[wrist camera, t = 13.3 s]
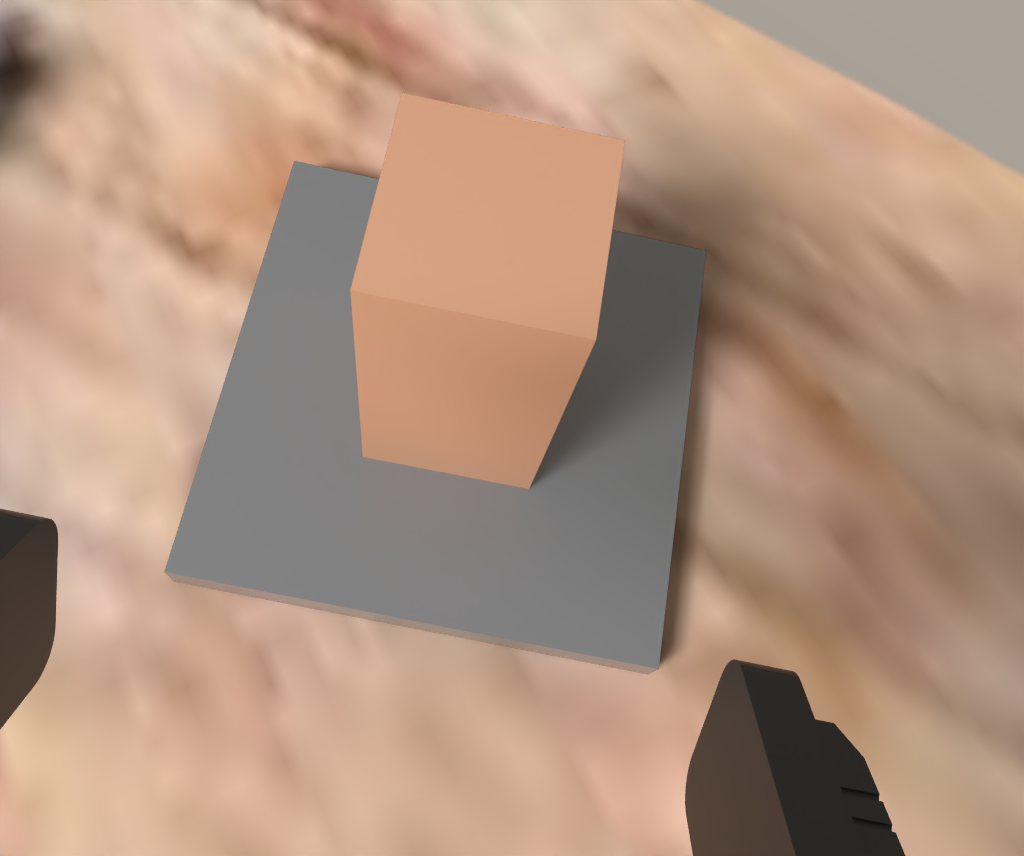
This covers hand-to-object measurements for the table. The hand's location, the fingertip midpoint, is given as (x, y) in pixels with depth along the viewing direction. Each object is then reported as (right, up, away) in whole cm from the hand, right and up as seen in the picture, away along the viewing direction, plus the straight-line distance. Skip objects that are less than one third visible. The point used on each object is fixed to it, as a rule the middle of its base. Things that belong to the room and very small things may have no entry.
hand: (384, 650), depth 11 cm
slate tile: (0, +3, +19) cm, 19 cm away
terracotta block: (0, +4, +18) cm, 18 cm away
